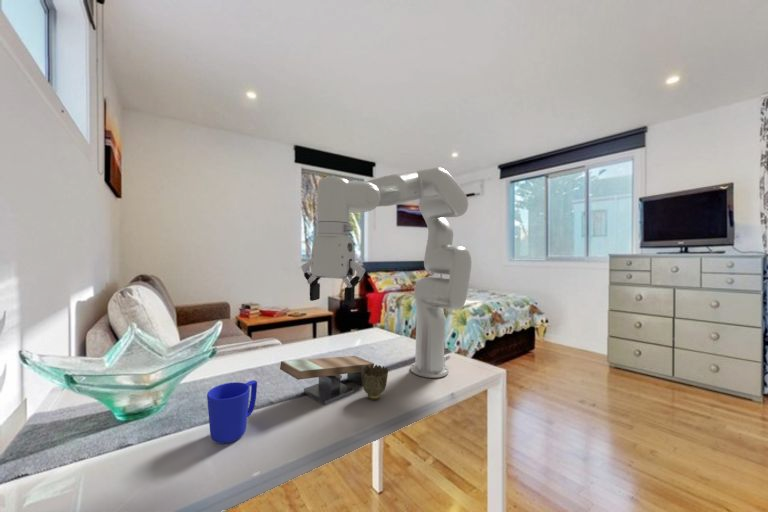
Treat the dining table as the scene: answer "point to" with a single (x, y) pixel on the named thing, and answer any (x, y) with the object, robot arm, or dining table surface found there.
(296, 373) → the beam
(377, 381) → the olive green rounded piece
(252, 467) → the dining table surface
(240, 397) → the mug
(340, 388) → the pivot stand
